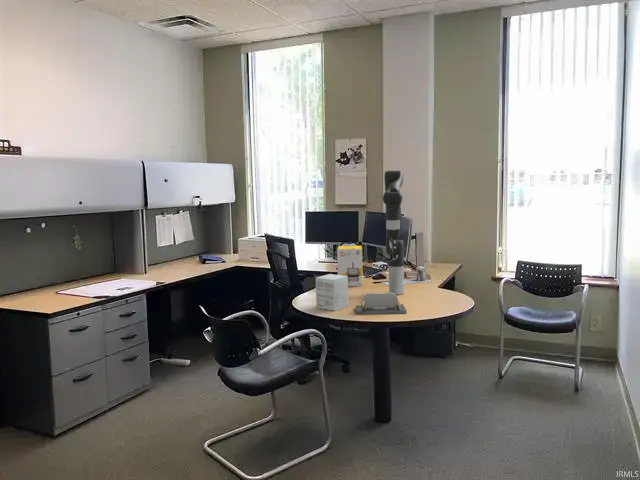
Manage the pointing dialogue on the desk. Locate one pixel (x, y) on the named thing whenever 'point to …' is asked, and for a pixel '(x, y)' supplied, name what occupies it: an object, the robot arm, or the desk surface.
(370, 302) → the grey piece
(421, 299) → the desk surface
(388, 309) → the standoff plate
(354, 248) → the packaging box
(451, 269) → the desk surface
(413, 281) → the monument
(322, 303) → the supplement box
